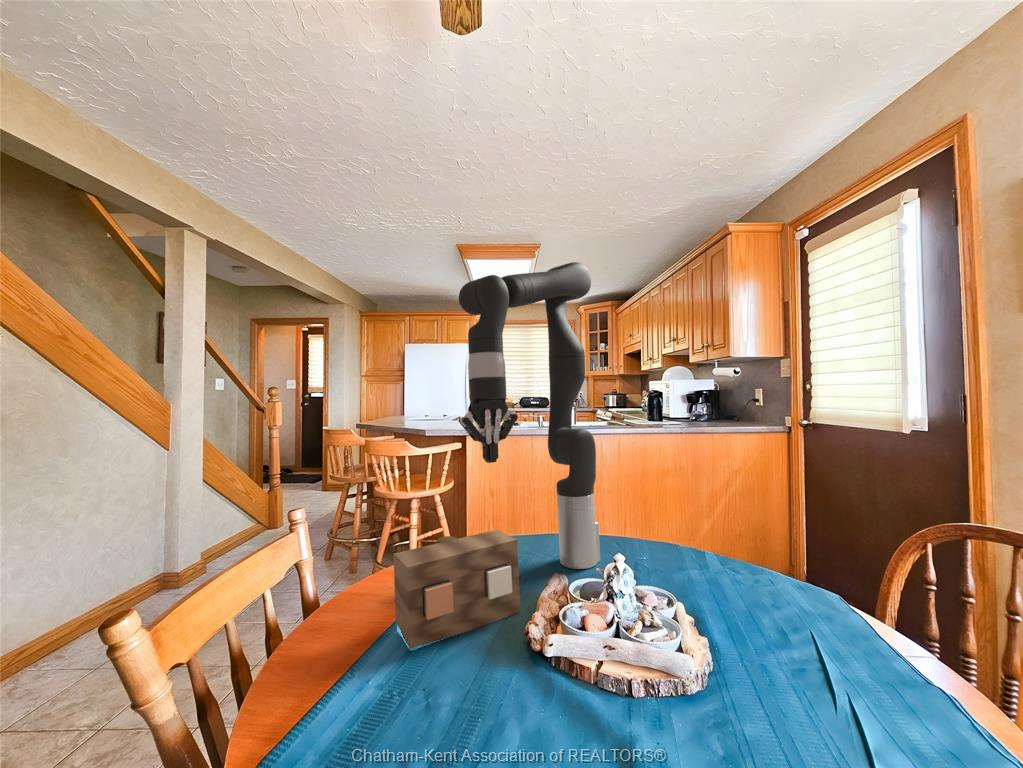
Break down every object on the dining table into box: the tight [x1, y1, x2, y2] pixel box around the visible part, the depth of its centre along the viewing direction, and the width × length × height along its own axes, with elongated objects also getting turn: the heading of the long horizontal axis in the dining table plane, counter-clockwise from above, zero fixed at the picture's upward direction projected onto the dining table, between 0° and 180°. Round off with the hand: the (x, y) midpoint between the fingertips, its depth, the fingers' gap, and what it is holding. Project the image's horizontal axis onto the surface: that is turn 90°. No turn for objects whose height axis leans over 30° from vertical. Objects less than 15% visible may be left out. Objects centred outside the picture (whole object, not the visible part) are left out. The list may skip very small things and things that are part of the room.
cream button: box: [484, 564, 512, 599], centre depth 82 cm, size 5×9×5 cm, turn 32°
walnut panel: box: [393, 529, 521, 649], centre depth 80 cm, size 22×8×14 cm, turn 122°
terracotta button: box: [422, 581, 454, 620], centre depth 76 cm, size 5×9×5 cm, turn 32°
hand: (490, 462), depth 85 cm, fingers closed
